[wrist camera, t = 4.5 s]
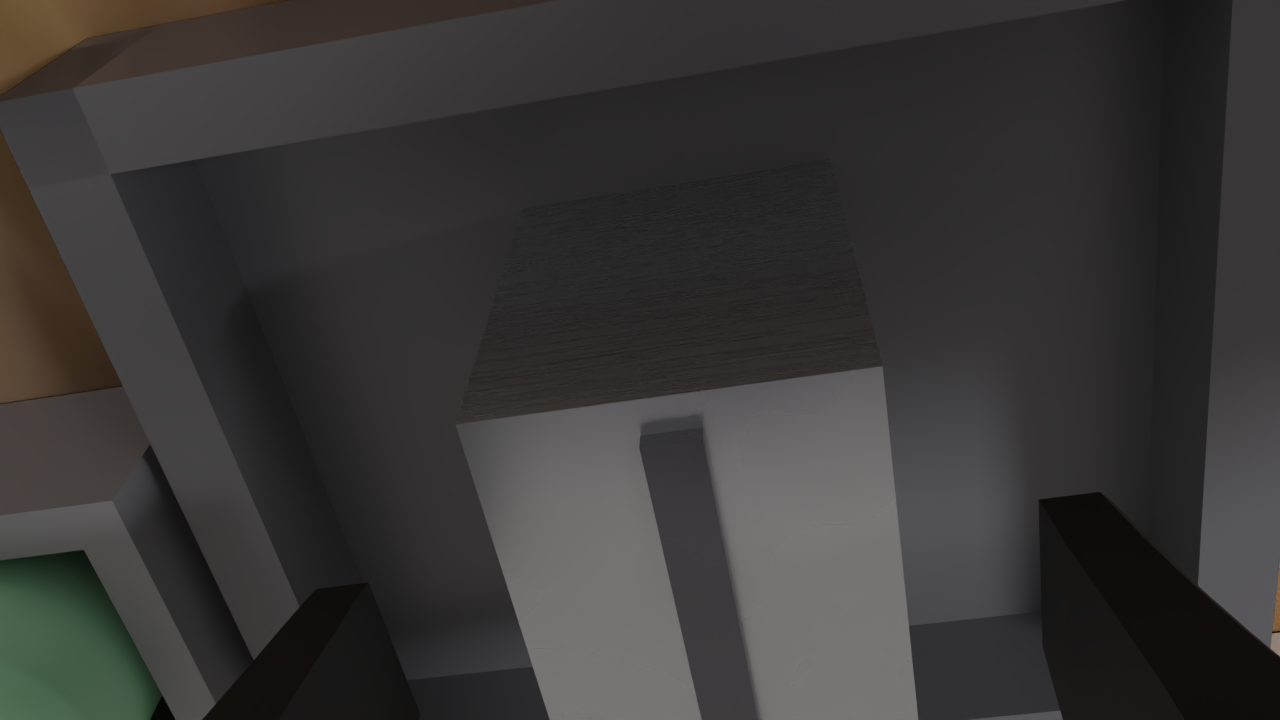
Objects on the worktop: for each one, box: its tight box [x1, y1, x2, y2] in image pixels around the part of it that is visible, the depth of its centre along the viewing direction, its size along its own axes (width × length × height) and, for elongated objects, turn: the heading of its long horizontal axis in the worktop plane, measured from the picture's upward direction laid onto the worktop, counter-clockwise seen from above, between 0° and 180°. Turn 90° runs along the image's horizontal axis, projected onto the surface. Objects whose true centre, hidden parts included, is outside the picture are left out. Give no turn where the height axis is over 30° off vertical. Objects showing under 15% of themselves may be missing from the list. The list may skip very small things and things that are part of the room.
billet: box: [456, 160, 918, 720], centre depth 15 cm, size 4×6×5 cm, turn 11°
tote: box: [0, 0, 1280, 720], centre depth 16 cm, size 14×12×2 cm
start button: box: [0, 550, 162, 720], centre depth 18 cm, size 4×4×3 cm
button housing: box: [0, 387, 254, 720], centre depth 18 cm, size 6×6×3 cm
